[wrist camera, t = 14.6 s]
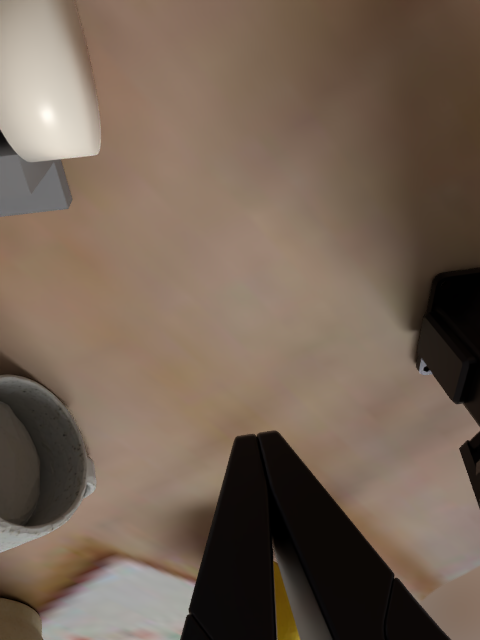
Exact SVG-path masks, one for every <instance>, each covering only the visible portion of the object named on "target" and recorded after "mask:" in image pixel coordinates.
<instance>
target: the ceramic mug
mask: <svg viewBox="0 0 480 640" xmlns="http://www.w3.org/2000/svg"><path fill="white" fill-rule="evenodd" d="M95 488H96V476H95V467H94V463H93V461H92V459H91V458H89V457H87V453H86V450H85V444H84V441H83V438H82V436H81V432H80V430H79V428H78V426H77V424H76V422H75V420H74V418H73V416H72V415H71V413H70V412H69V411H68V409H67V408H66V407H65V406H64V404H63V403H62V402H61V401H60V400H59V399H58V398H57V397H56V396H55V395H54V394H53V393H52V392H51V391H49V390H48V389H46V388H45V387H44V386H42V385H40V384H39V383H37V382H36V381H33V380H31V379H28V378H25V377H22V376H16V375H7V374H6V375H0V553H1V552H3V551H6V550H9V549H11V548H14V547H16V546H19V545H21V544H24V543H26V542H29V541H31V540H34V539H36V538H39V537H42V536H44V535H47V534H48V533H50V532H52V531H54V530H55V529H57V528H59V527H60V526H62V525H63V524H64V523H66V522H67V521H68V520H69V519H70V518H71V516H72V515H73V513H74V512H75V511H76V510H77V508H78V507H79V505H80V503H81V502H82V499H83V498H85V497H87V496H88V495H90V494H91V493H92V492H94V490H95Z"/></svg>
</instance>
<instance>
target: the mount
mask: <svg viewBox="0 0 480 640" xmlns="http://www.w3.org/2000/svg"><path fill="white" fill-rule="evenodd" d="M71 202H72V196H71V193H70V190H69V186H68V183H67V179H66V176H65V173H64V169H63V166H62V162H61V159H58V160H48V161H39V162H27V161H26V160H24V159H22V158H21V157H20V156H19V155H18V154H17V153H16V152H15V151H14V150H13V148H12V147H11V146H10V144H9V143H8V141H7V140H6V138H5V137H4V135H3V133H2V132H1V130H0V217H2V216H11V215H19V214H28V213H36V212H45V211H53V210H62V209H68V208H69V206H70V204H71Z"/></svg>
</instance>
